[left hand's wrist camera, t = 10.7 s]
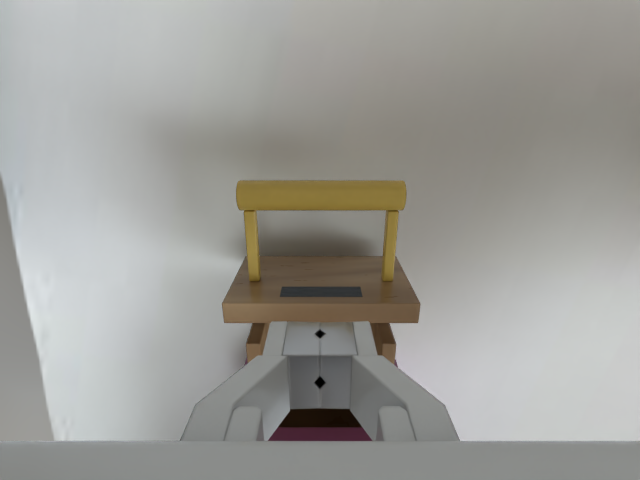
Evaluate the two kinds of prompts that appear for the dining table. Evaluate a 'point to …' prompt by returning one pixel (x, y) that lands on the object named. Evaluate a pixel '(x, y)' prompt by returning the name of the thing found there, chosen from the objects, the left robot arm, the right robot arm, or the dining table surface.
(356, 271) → the drawer
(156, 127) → the dining table surface
